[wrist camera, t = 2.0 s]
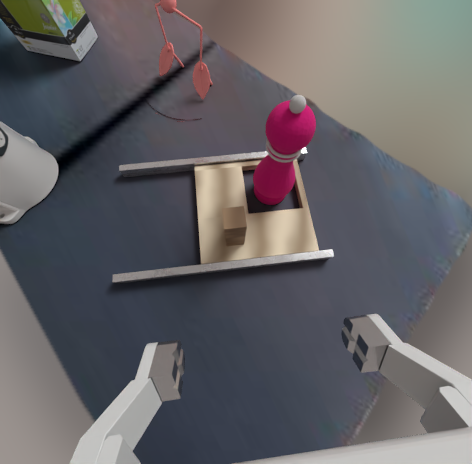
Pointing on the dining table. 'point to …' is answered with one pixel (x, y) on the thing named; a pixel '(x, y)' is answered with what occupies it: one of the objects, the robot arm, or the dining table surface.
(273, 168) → the pepper mill
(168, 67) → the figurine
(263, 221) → the beige piece
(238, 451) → the dining table surface
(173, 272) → the runner track
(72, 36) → the tea box
